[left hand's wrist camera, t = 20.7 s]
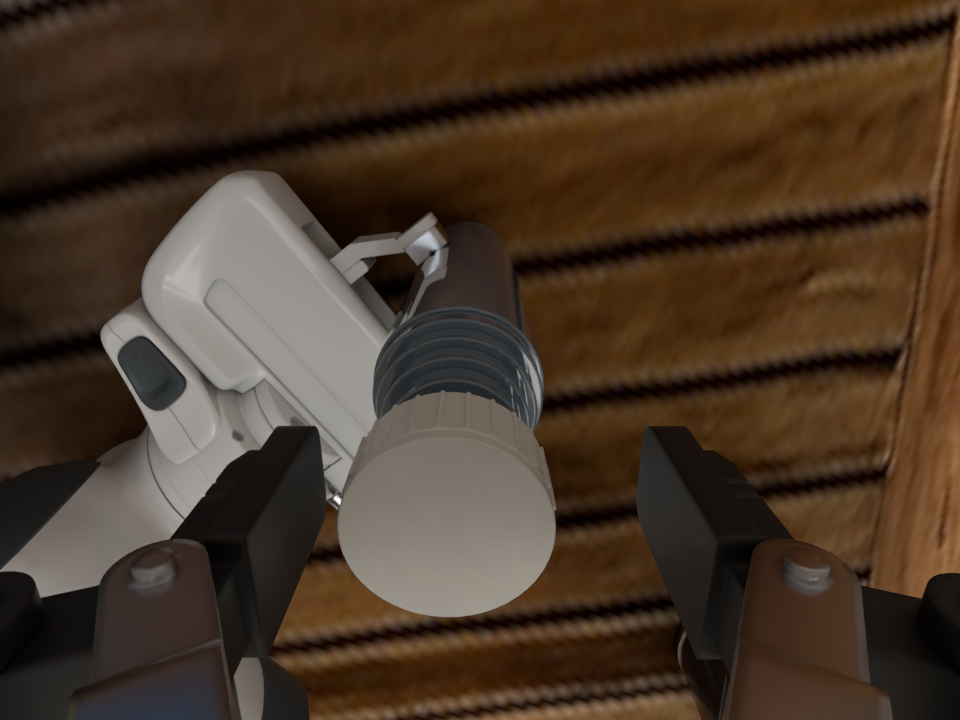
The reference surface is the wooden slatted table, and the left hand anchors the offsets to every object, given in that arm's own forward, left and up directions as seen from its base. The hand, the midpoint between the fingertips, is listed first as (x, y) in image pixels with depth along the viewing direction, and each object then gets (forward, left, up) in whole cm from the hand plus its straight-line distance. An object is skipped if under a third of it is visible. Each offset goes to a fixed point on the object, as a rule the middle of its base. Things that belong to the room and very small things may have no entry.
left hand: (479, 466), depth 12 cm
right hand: (0, 0, -16) cm, 16 cm away
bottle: (0, +1, -22) cm, 22 cm away
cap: (0, +1, +1) cm, 1 cm away
